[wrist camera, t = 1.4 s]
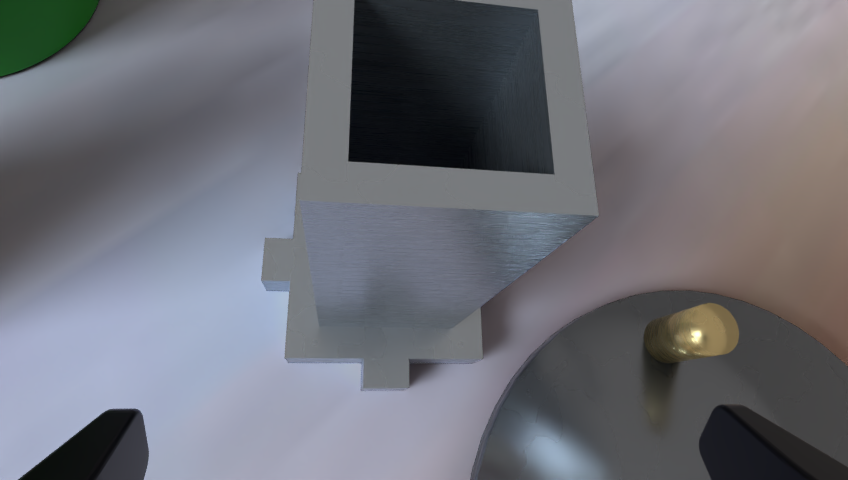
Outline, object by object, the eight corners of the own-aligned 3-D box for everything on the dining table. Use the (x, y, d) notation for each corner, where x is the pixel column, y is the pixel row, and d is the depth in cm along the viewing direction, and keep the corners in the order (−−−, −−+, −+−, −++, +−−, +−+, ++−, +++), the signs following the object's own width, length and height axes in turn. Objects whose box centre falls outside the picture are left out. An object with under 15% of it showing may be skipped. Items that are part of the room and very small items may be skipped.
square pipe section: (498, 389, 20) (739, 346, 8) (257, 390, 19) (124, 340, 7) (486, 179, 23) (652, -83, 11) (277, 166, 22) (207, -149, 10)
